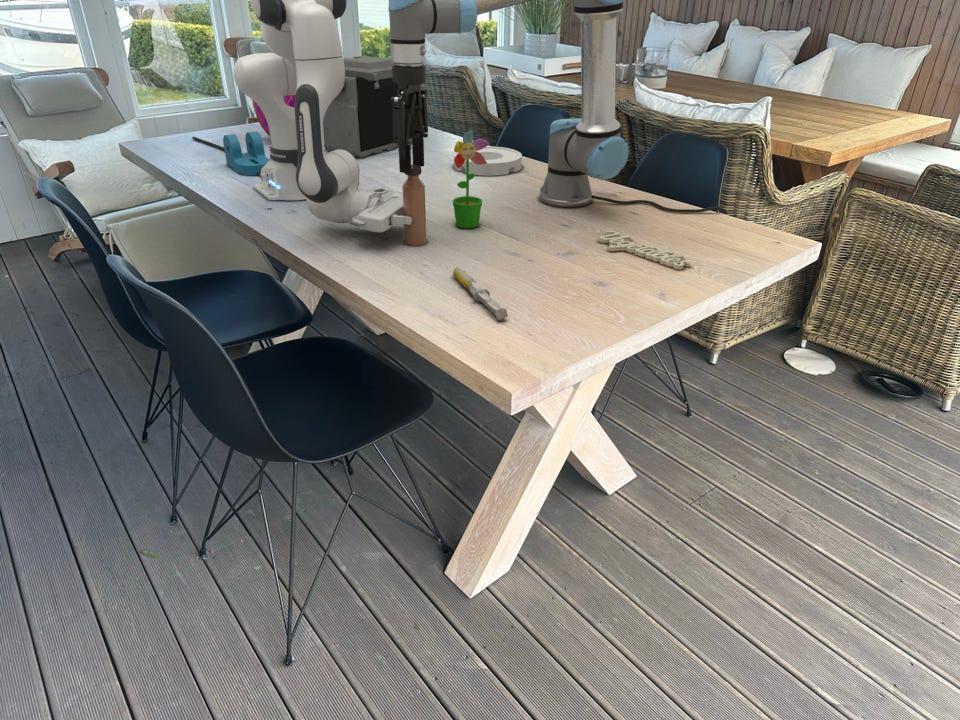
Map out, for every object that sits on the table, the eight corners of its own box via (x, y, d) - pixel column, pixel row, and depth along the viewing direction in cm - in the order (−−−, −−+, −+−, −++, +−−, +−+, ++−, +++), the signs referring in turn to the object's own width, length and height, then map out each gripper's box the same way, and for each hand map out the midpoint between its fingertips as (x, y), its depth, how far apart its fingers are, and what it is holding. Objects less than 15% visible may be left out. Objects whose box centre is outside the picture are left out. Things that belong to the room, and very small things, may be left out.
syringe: (449, 274, 155) (449, 263, 153) (465, 272, 156) (464, 260, 154) (490, 323, 135) (491, 310, 133) (508, 319, 136) (508, 307, 134)
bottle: (430, 241, 173) (428, 167, 164) (417, 247, 169) (414, 172, 160) (414, 236, 176) (411, 164, 166) (400, 242, 172) (396, 169, 162)
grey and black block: (383, 133, 276) (378, 52, 261) (425, 141, 265) (422, 56, 250) (314, 150, 251) (304, 61, 235) (358, 160, 240) (350, 67, 224)
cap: (424, 173, 164) (424, 166, 163) (414, 176, 161) (413, 169, 160) (411, 170, 166) (411, 163, 165) (401, 174, 163) (400, 167, 162)
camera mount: (227, 164, 233) (221, 132, 227) (257, 160, 238) (252, 129, 233) (244, 176, 220) (239, 143, 215) (276, 172, 225) (271, 139, 220)
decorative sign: (585, 238, 173) (610, 229, 179) (584, 241, 173) (610, 233, 179) (673, 269, 156) (698, 259, 162) (672, 273, 156) (697, 262, 162)
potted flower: (459, 231, 179) (458, 133, 166) (446, 222, 185) (444, 126, 172) (490, 226, 182) (492, 129, 170) (477, 217, 188) (478, 123, 176)
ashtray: (455, 157, 245) (455, 145, 243) (520, 158, 244) (521, 146, 242) (451, 174, 225) (451, 162, 223) (522, 176, 224) (522, 164, 222)
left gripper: (346, 209, 163) (398, 216, 159) (385, 186, 179) (434, 192, 175) (348, 234, 166) (400, 242, 162) (386, 209, 183) (434, 216, 179)
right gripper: (404, 70, 143) (408, 181, 154) (442, 60, 158) (443, 161, 170) (372, 68, 145) (378, 177, 157) (412, 58, 160) (415, 158, 172)
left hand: (418, 216), depth 169 cm, fingers closed on bottle, 5 cm apart
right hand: (412, 168), depth 163 cm, fingers open, 6 cm apart
